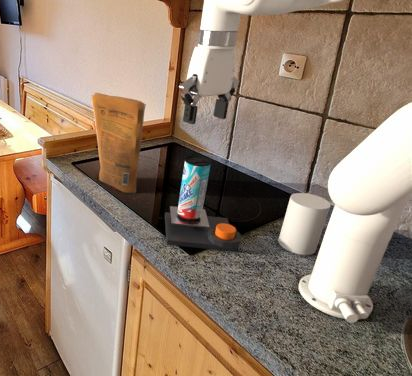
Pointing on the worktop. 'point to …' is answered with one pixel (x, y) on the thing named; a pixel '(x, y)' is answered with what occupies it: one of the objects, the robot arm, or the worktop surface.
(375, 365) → the worktop surface
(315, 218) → the cup
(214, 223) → the scale
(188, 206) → the beverage can
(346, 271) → the robot arm
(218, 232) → the button
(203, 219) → the weighing pan
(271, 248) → the worktop surface
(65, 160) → the worktop surface
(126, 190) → the pancake mix bag
